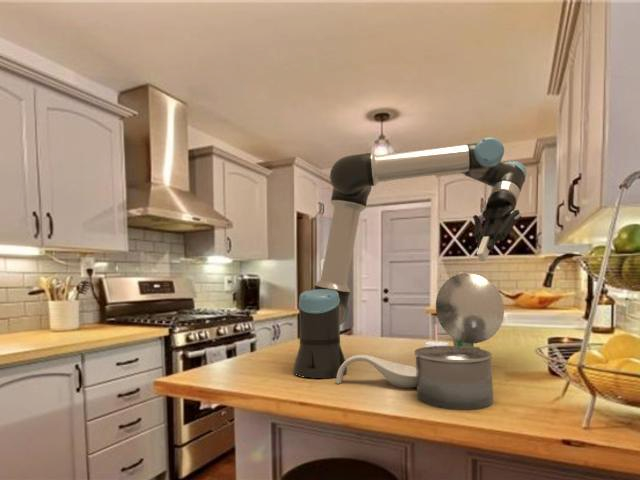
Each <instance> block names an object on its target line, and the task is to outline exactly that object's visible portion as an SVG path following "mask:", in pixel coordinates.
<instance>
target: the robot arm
mask: <svg viewBox="0 0 640 480" xmlns="http://www.w3.org/2000/svg"><path fill="white" fill-rule="evenodd" d="M504 154H505V146H504V144H503V143H502V142H501V140H499V139H498V138H495V137H491V136H490V137H484V138H483V139H481V140H479V141H478V142H475V143H467V144H460V145H459V144H458V145H451V146H446V147H445V146H444V147H437V148H428V149H421V150H420V149H419V150H412V151H403V152H397V153H396V152H395V153H389V154H379V155H376V154H375V153H373V152H367V153H359V154H352V155H347V156H344V157H341V158H339V159H338V160H336V161H335V163H333V165H332V167H331V169H330V173H329V180H330V183H331V185H332V187H333V188H332V192H331V193H332V194H331V199H330V204H331V205H332V207H333V213H332V218H331V222H330V223H331V224H330V229H329V234H328V238H327V239H328V240H327V243H326V244H327V245H326V251H325V255H324V260H323V264H322V269H321V270H322V271H321V276H320V279H319V280H318V281H317V282H316V283H315V284H314V287H313V289H311V290H305V291H303V292H301V293H300V294H299V298H298V299H299V300H298V308H299V309H298V310H299V311H298V312H299V313H298V314H299V315H298V316H299V317H298V318H299V320H298V323H299V347H298V351H297V354H296V358H295V361H294V364H293V374H294V373H295V374H297V375H300V376H304V377H311V378H310V379H315V378H322V379H332V378H331V377H333V378H337V373H338V370H339V368H340V366H341V365H342V364H343V362H344V361H345V360H346V357H345V355H344V353H343V350H342V346H341V327H340V326H341V325H343V323H344V322H345V321H346V319H347V317H348V314H349V300H350V293H351V290H350V288H349V287H348V279H349V273H350V267H351V262H352V258H353V253H354V247H355V242H356V241H355V240H356V237H357V231H358V226H359V220H360V215H361V213H362V212H363V211H364V210H365V209H366V208H367V202H368V198H369V196H370V194H371V191H372V187H374V186H376V185H378V183H380V182H389V181H396V180H397V181H398V180H406V179H413V178H414V179H415V178H420V177H421V178H423V177H430V176H431V177H433V176H439V175H448V174H456V173H460V174H462V175H464V176H465V177H468V178H470V179H473V180H476V181H478V182H480V183H483V184H485V185H488V186H489V187H492V189H491V192H490V193H489V197H488V199H487V202H486V205H485V209H484V210H483V212H482V213H481V214H480V215H477V214H475V215H473V216H472V218H473V220H474V227H473V236H474V238H475V239H474V240H475V241H476V243H477V252H476V255H477V257H478V259H479V262H486V261H487V259H488V257H489V253H490V251H492V250H493V249H494V248H495V245H496V243H497V242H498V241H500V242H502V241H504V240H505V239H506V238H507V236H509V234H510V232H511V231H512V229H513V227H514V226H515V225H516V223H517V222H519V221H520V220H521V219H522V215H521V213H520V210H519V209H516V206H517V203H518V201H519V198H520V194H521V192H522V190H523V186H524V183H525V182H526V177H527V168H526V167H525V166H524V164H523V163H521V162H520V161H517V160H516V161H514V160H511V161H506V162H505V163H503V162H502V159H503V157H504ZM515 209H516V210H515ZM484 220H485V222H483V221H484ZM483 223H484V225H483ZM347 373H348V366H347V367H346V368H345V370H344V373H343V376H345V375H346V374H347ZM295 374H294V375H295ZM297 375H296V376H297ZM304 377H303V378H304Z"/></svg>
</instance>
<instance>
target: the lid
mask: <svg viewBox="0 0 640 480" xmlns="http://www.w3.org/2000/svg"><path fill="white" fill-rule="evenodd" d="M435 313H436V316H437V320H438V322H439V324H440V325H441V328H442V329H443V330H444V332H446V333H447V335H448V336H450V337H452V339H453V338H454V339H456V340H458V341H460V342H463V343H470V344H473V343H474V344H479V343H483V342H486V341H487V340H490V339H491V338H493V337H494V336H495V335H496V333H497V332H498V331H499V330H500V328H501V326H502V323H503V321H504V315H505V308H504V302H503V299H502V295H501V293H500V292H499V290H498V289H497V287H496V286H495V285H494V284H493V282H491V281H490V280H489V279H487V278H486V277H484V276H482V275H479V274H474V273H467V272H466V273H459V274H456V275H453V276H451V277H450V278H448V279H447V280H446V281H445V282H444V283H443V284H442V285H441V287H440V288H439V290H438V292H437V295H436V301H435Z"/></svg>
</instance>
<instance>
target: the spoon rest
mask: <svg viewBox="0 0 640 480" xmlns="http://www.w3.org/2000/svg"><path fill="white" fill-rule="evenodd" d="M361 361H362V362H366V363H369V364H370V365H371V366H373V367H374V368H375V369H376V370H377V371H378V372H379V373H380V374H381V375H382V376H383V377H384V378H385V379H386V380H387V382H389V383H390V384H392V386H393V387H397V388H402V389H414V388H417V378H416V366H415V365H407V364H402V363H396V362H392V361H388V360H386V359H382V358H379V357H376V356H372V355H366V354H356V355H353V356H351V357H348V358H346V359H345V361H344V362H343V364H342V365H341V366H340V368H339V370H338V373H337V377H335V383H336V384H337V385H339V383H340V384H341V383H342V382H343V380H344V375H343V373H344V370H345V368H346V367H347V368H348V366H349V365H351V364H352V363H355V362H361Z"/></svg>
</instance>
